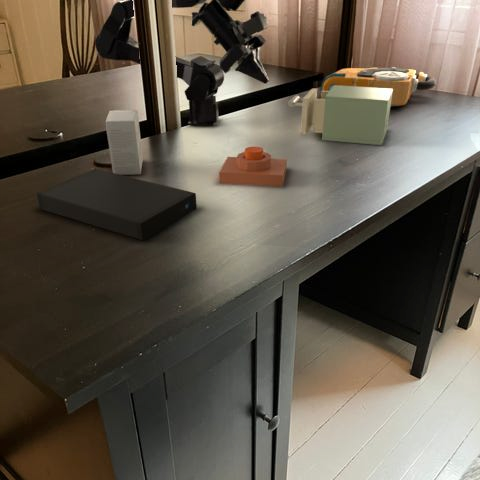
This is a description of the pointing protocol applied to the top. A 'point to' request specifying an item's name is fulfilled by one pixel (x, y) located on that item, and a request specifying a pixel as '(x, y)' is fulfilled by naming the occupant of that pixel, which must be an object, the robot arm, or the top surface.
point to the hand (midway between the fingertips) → (267, 82)
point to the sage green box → (356, 114)
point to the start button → (254, 153)
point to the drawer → (311, 110)
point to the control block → (253, 171)
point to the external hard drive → (118, 203)
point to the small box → (124, 141)
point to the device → (382, 81)
